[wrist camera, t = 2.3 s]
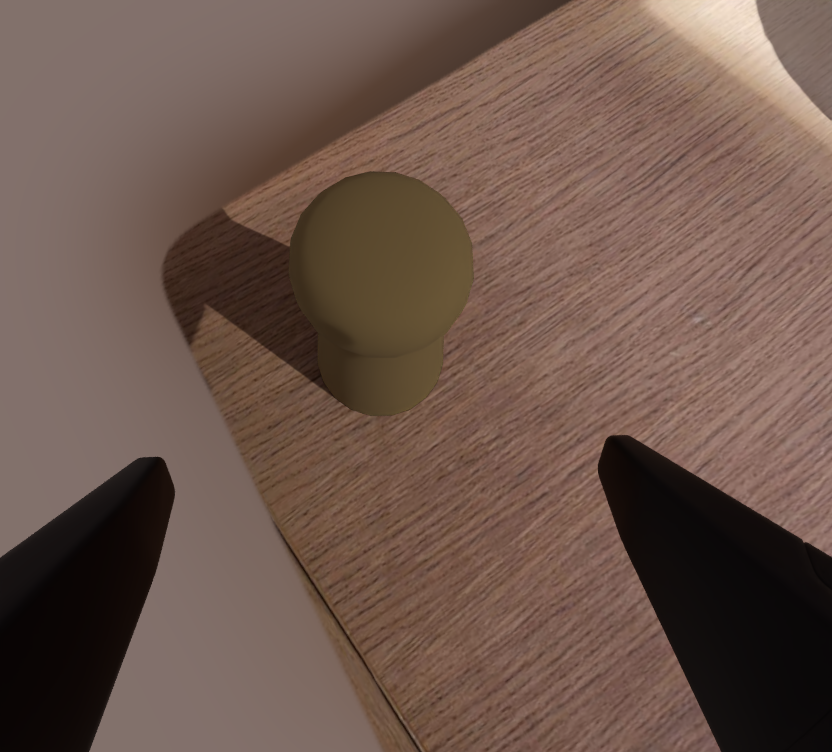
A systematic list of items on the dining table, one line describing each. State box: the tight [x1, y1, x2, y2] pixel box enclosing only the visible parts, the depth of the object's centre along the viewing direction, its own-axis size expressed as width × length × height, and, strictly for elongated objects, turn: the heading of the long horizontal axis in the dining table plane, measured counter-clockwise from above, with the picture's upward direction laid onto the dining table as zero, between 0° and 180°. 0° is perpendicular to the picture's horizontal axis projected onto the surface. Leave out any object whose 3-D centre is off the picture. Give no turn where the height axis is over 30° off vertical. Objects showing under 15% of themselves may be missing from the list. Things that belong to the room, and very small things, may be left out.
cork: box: [289, 171, 474, 416], centre depth 17 cm, size 6×6×11 cm
